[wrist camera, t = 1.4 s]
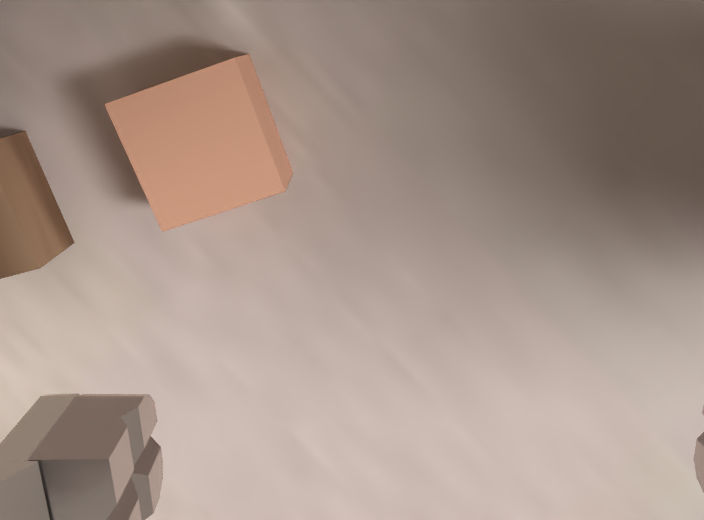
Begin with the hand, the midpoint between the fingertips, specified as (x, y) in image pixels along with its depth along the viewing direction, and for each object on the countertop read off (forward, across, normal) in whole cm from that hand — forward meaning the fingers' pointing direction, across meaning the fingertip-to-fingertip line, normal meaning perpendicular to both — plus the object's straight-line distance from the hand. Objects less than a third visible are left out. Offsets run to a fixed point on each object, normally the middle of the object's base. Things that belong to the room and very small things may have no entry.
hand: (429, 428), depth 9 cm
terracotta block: (+24, +8, -1) cm, 25 cm away
